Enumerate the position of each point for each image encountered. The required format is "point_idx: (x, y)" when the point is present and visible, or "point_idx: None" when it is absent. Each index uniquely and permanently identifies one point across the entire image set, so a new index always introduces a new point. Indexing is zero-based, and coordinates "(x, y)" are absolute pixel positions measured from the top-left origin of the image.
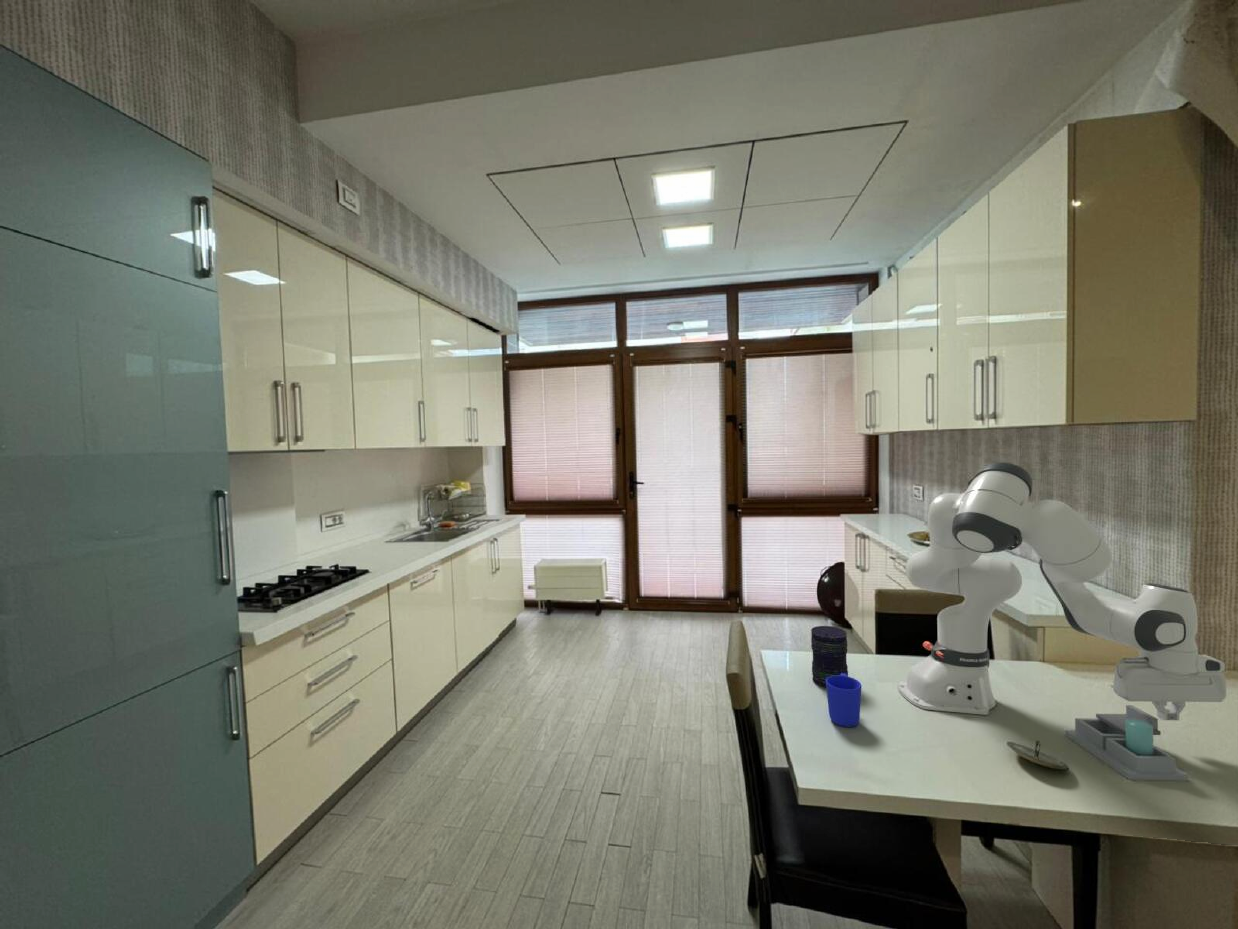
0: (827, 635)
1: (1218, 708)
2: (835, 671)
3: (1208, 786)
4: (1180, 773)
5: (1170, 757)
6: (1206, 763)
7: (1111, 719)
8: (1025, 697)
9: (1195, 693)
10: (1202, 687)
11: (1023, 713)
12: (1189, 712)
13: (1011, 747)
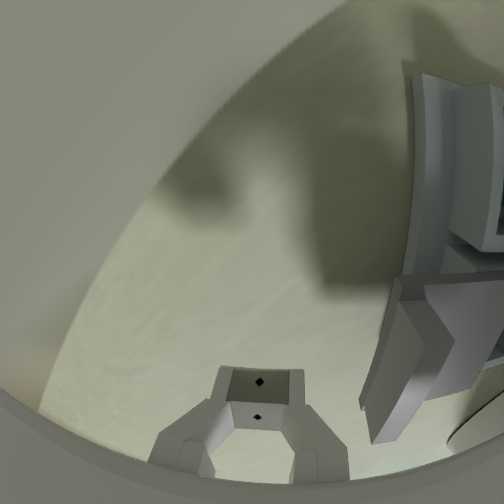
0: None
1: (57, 389)
2: None
3: (369, 43)
4: (439, 85)
5: (500, 94)
6: (230, 184)
7: (472, 363)
8: (393, 449)
9: (63, 494)
10: (11, 499)
11: (467, 399)
12: (97, 397)
13: None
